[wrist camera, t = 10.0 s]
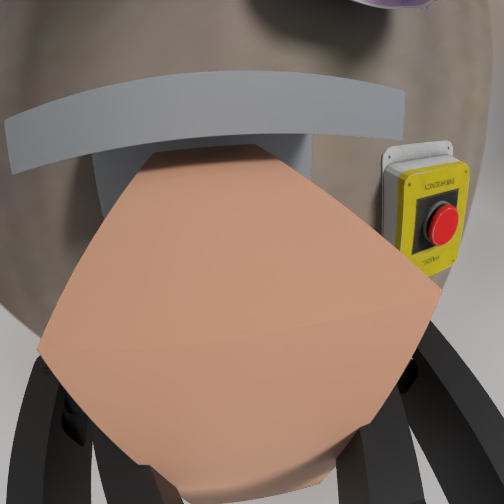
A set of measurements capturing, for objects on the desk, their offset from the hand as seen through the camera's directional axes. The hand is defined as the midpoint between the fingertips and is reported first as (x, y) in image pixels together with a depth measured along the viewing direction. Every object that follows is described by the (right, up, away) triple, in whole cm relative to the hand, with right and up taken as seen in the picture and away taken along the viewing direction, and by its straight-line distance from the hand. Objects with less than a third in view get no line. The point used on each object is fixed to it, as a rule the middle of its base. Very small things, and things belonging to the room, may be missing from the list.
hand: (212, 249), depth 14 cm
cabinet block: (0, +1, +1) cm, 1 cm away
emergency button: (+18, +3, +10) cm, 21 cm away
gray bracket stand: (-1, +1, +6) cm, 6 cm away
